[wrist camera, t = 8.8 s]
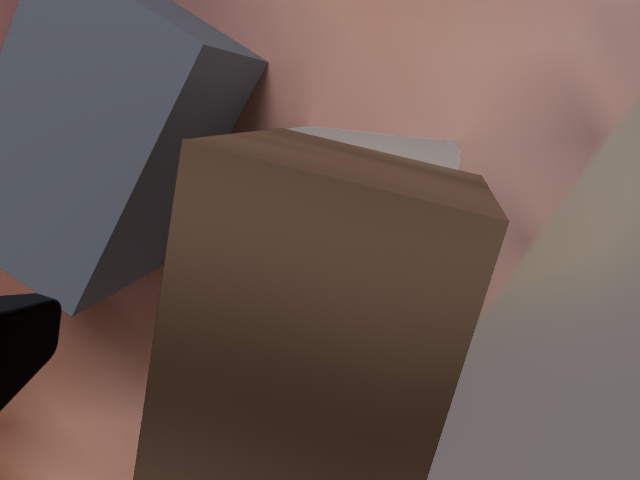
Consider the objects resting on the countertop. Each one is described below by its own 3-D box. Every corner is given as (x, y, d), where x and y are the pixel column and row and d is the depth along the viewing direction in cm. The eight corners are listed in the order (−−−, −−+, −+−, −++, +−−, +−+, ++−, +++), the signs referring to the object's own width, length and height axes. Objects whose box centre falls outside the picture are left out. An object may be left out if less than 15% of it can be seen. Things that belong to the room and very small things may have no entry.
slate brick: (161, 266, 20) (71, 317, 15) (59, 197, 20) (-63, 225, 15) (269, 62, 17) (203, 44, 12) (151, -13, 17) (41, -59, 13)
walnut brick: (389, 484, 14) (362, 680, 9) (223, 428, 15) (118, 584, 10) (481, 175, 12) (509, 220, 7) (281, 127, 12) (182, 139, 8)
